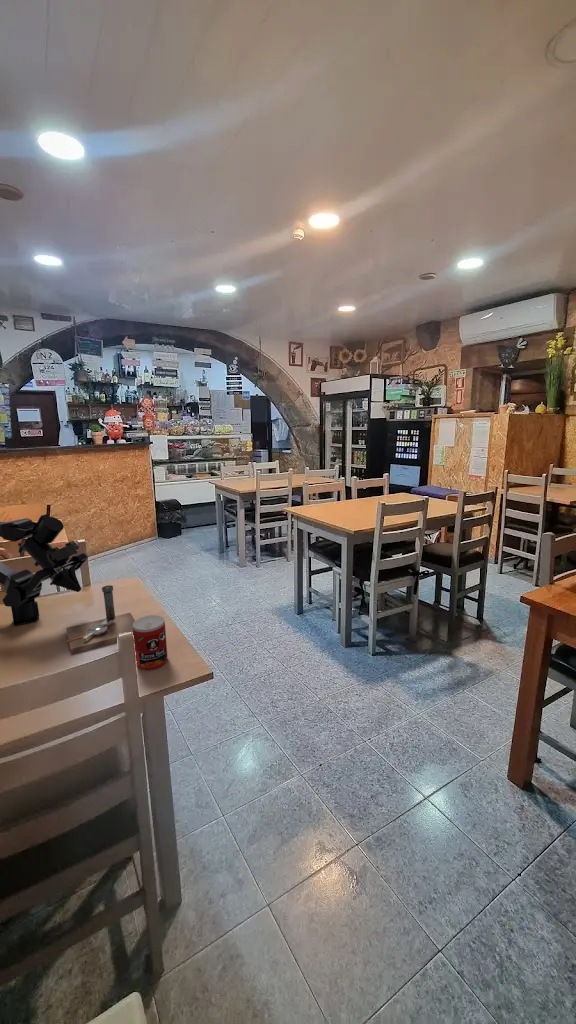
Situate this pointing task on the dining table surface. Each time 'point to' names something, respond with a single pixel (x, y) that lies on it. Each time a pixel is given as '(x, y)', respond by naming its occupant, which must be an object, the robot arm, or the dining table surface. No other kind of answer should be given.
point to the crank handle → (110, 615)
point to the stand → (79, 631)
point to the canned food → (150, 642)
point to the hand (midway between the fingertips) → (79, 590)
